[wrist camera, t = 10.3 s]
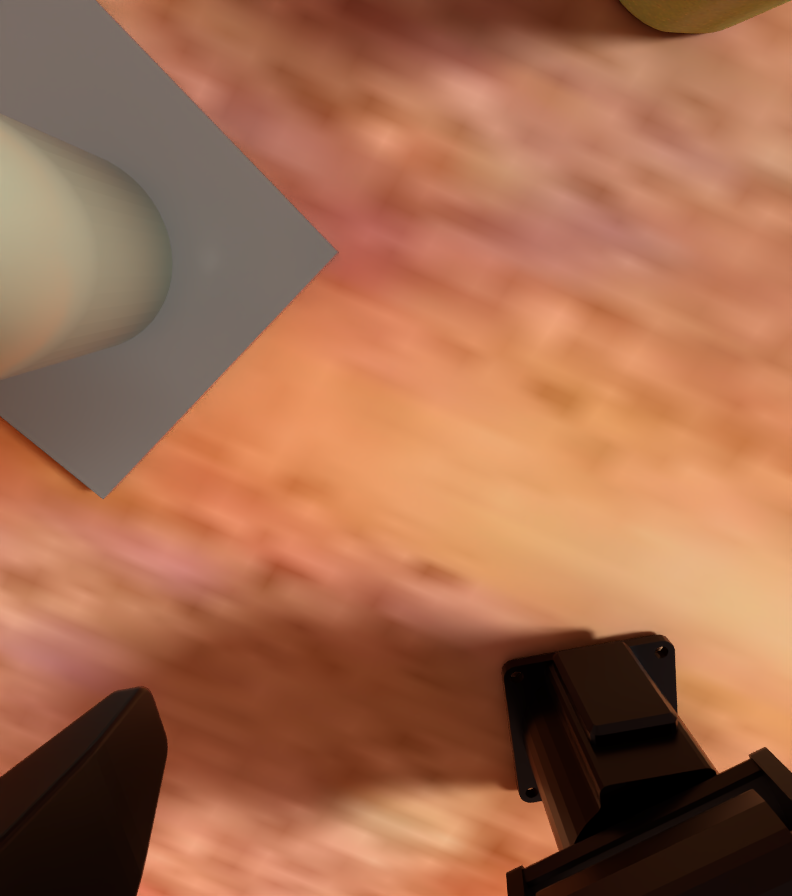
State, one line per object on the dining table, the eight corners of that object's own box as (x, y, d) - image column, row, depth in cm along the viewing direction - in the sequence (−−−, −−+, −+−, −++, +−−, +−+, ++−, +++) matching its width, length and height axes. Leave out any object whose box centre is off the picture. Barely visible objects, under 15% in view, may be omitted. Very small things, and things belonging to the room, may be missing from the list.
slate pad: (338, 252, 19) (337, 251, 18) (112, 490, 21) (103, 499, 20) (42, -55, 16) (26, -71, 16) (-186, 247, 18) (-210, 246, 17)
